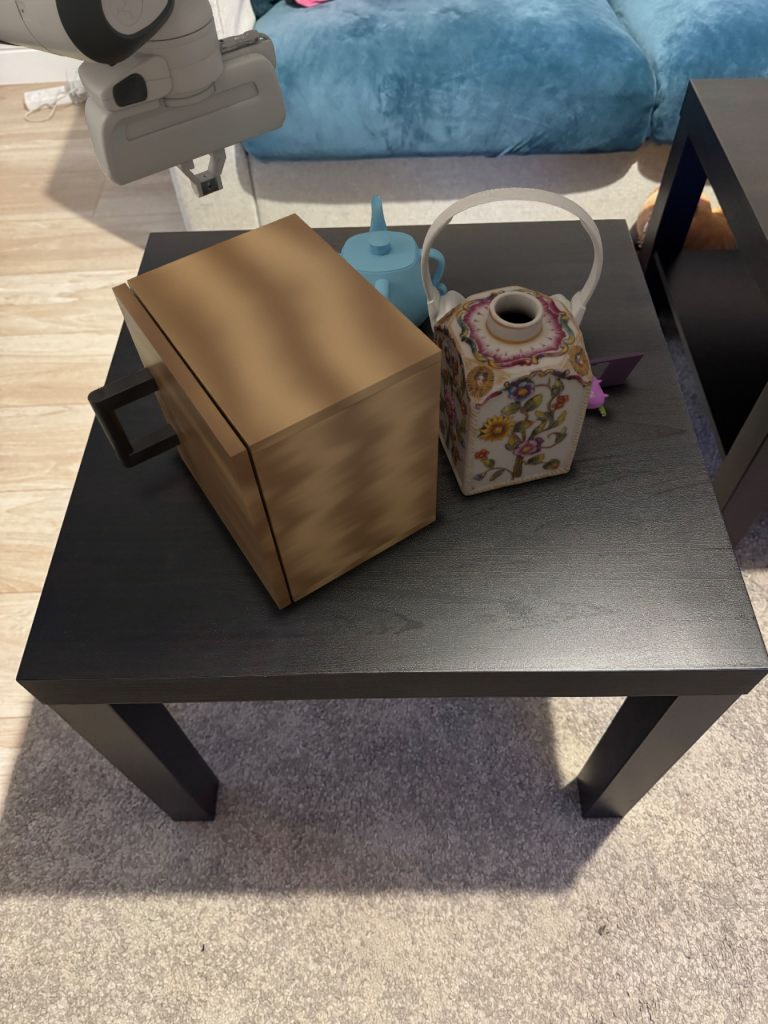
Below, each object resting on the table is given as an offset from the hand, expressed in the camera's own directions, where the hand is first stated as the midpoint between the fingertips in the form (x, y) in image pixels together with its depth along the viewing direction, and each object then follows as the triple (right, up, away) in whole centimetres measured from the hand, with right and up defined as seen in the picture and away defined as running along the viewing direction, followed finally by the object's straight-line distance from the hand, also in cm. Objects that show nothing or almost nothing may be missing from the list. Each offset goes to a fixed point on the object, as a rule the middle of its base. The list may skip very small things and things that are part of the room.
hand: (208, 191), depth 80 cm
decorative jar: (+31, -28, -3) cm, 42 cm away
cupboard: (+12, -33, -6) cm, 35 cm away
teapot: (+19, -11, +10) cm, 24 cm away
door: (+2, -38, -9) cm, 39 cm away
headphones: (+33, -17, +5) cm, 37 cm away
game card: (+42, -23, 0) cm, 48 cm away
